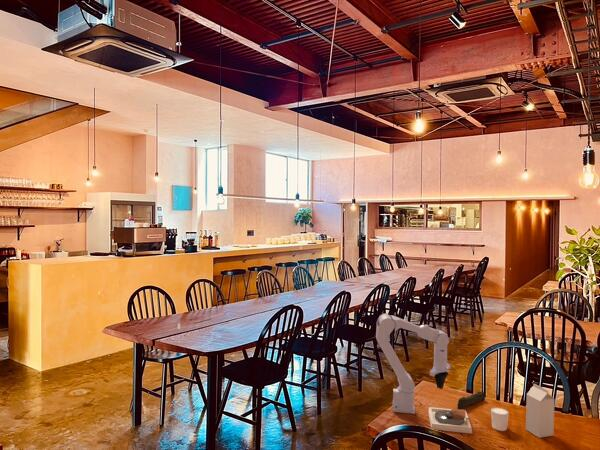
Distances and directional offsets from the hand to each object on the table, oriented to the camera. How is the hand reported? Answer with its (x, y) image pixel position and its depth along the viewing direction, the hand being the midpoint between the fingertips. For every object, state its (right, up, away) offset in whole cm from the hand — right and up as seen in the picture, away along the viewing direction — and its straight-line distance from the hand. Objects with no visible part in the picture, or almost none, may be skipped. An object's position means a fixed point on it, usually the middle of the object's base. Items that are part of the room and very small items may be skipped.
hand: (440, 387), depth 198 cm
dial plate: (+1, -11, -10) cm, 15 cm away
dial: (+1, -9, -10) cm, 14 cm away
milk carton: (+35, -12, -19) cm, 41 cm away
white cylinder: (+20, -11, -15) cm, 27 cm away
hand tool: (+17, -11, +7) cm, 21 cm away
